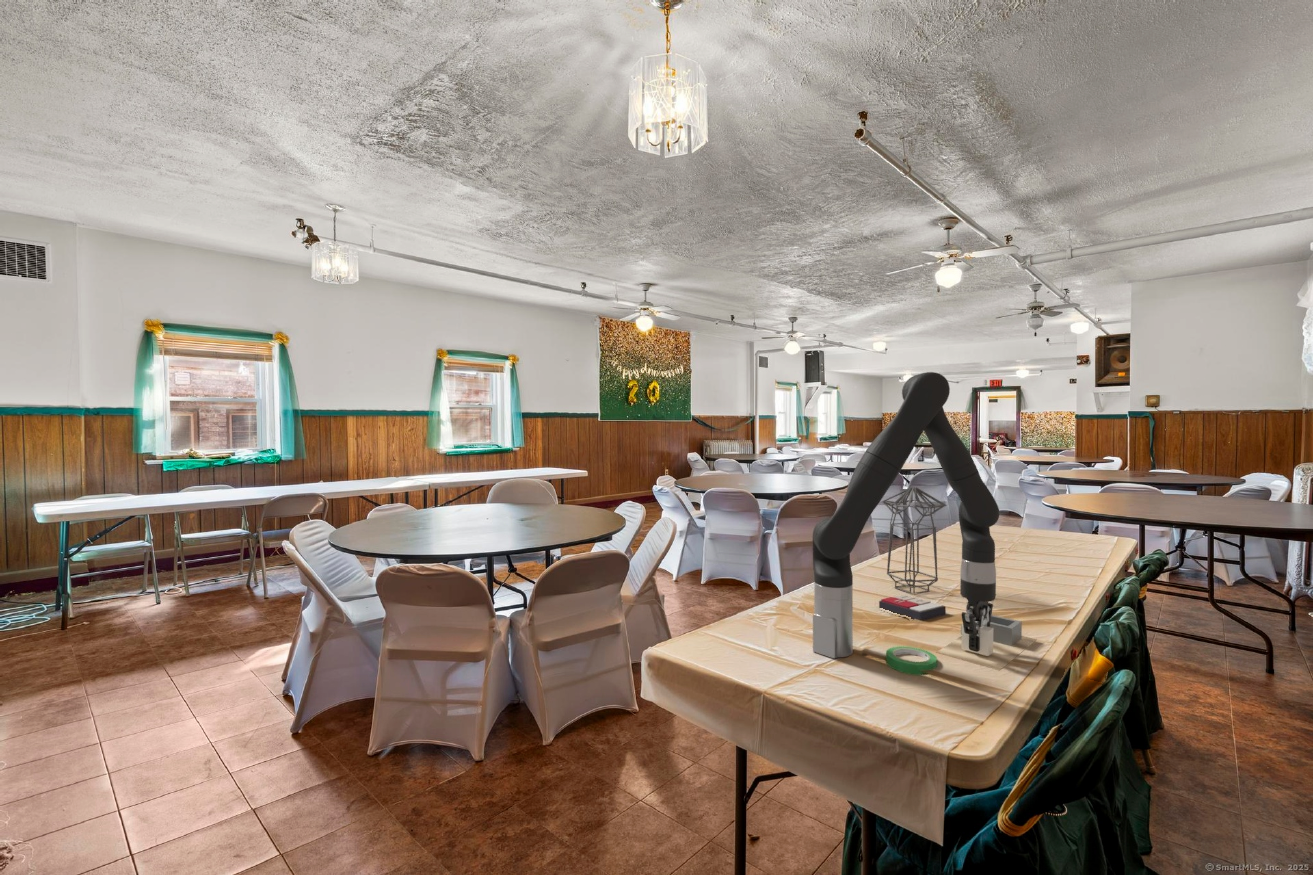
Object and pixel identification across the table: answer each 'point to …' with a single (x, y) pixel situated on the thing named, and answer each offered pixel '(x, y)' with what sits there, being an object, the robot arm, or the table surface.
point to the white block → (985, 640)
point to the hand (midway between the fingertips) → (977, 648)
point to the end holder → (1006, 630)
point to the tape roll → (910, 666)
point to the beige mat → (995, 660)
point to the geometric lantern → (912, 534)
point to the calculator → (912, 607)
